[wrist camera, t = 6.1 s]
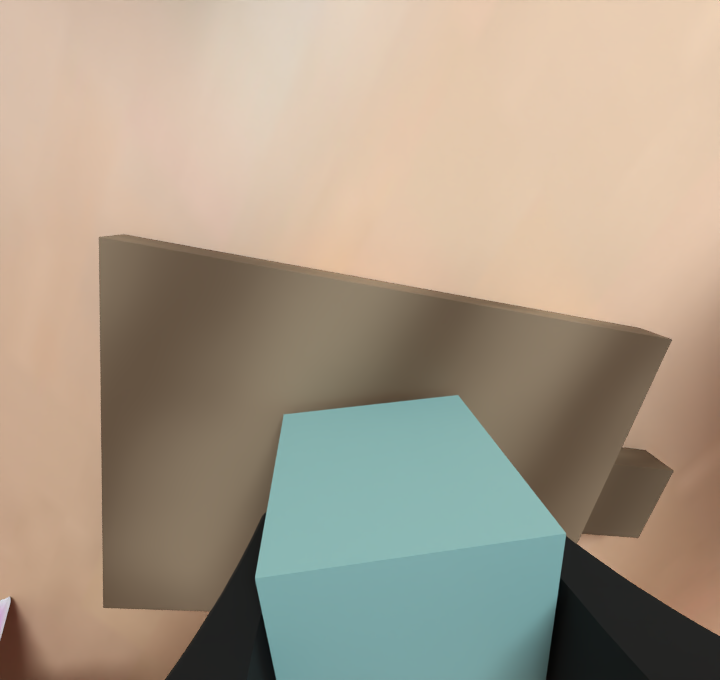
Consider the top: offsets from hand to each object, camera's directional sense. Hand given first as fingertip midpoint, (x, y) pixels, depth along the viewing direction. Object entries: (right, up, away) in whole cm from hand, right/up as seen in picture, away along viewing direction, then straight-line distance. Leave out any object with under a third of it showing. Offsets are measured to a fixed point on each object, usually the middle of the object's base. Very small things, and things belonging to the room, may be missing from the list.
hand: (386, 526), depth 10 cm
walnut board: (+1, +1, +3) cm, 3 cm away
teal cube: (0, +1, +1) cm, 2 cm away
